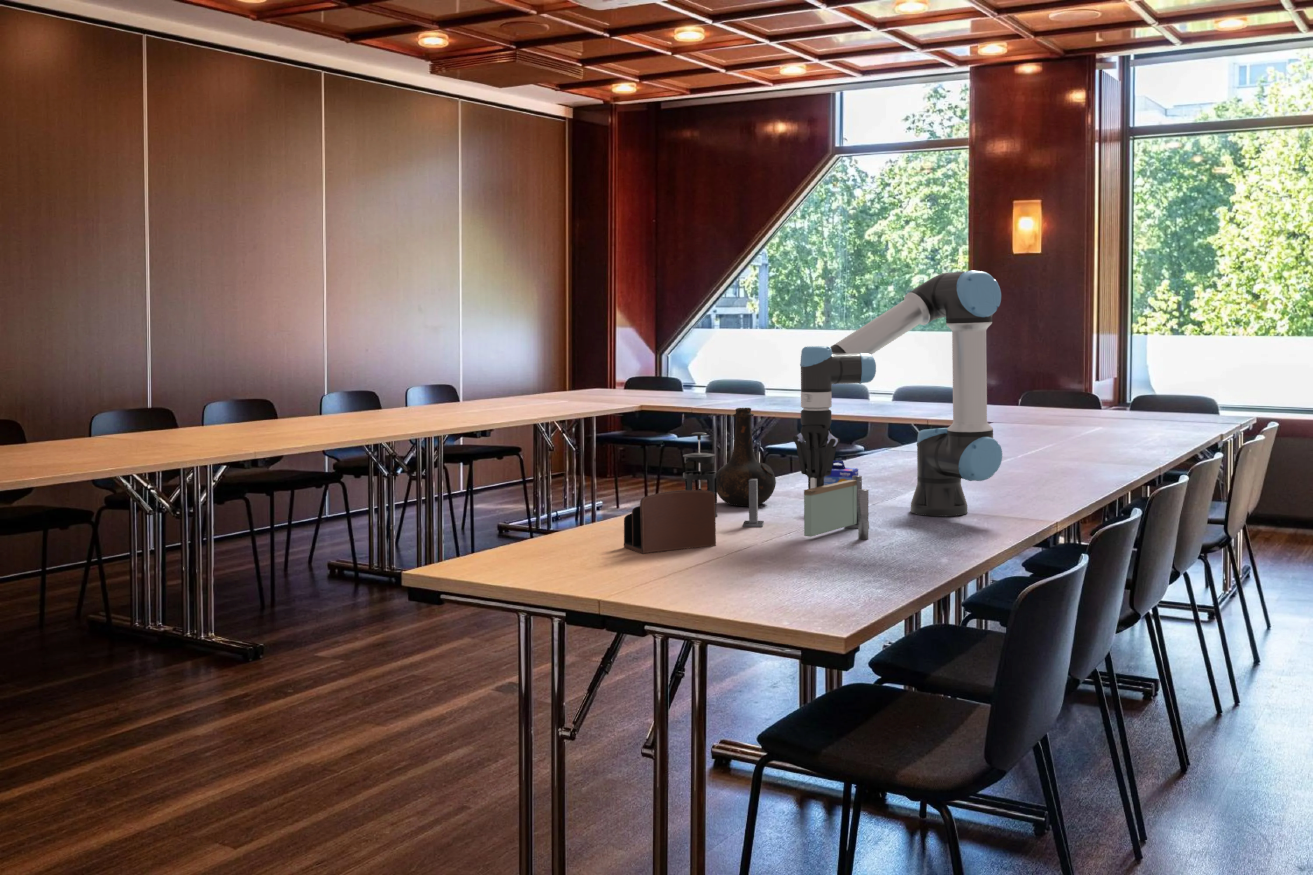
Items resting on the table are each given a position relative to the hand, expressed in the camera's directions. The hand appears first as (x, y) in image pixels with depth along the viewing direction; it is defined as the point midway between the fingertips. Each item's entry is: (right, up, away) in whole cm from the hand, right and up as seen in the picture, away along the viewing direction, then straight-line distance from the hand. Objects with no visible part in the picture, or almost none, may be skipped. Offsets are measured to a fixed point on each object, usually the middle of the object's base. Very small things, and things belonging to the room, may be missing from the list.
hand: (815, 503), depth 308 cm
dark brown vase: (-14, -3, +51) cm, 53 cm away
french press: (-27, -5, +31) cm, 41 cm away
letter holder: (-36, -10, -13) cm, 40 cm away
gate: (+4, -7, 0) cm, 8 cm away
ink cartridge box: (+11, -4, +33) cm, 35 cm away
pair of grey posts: (-2, -7, +4) cm, 9 cm away
